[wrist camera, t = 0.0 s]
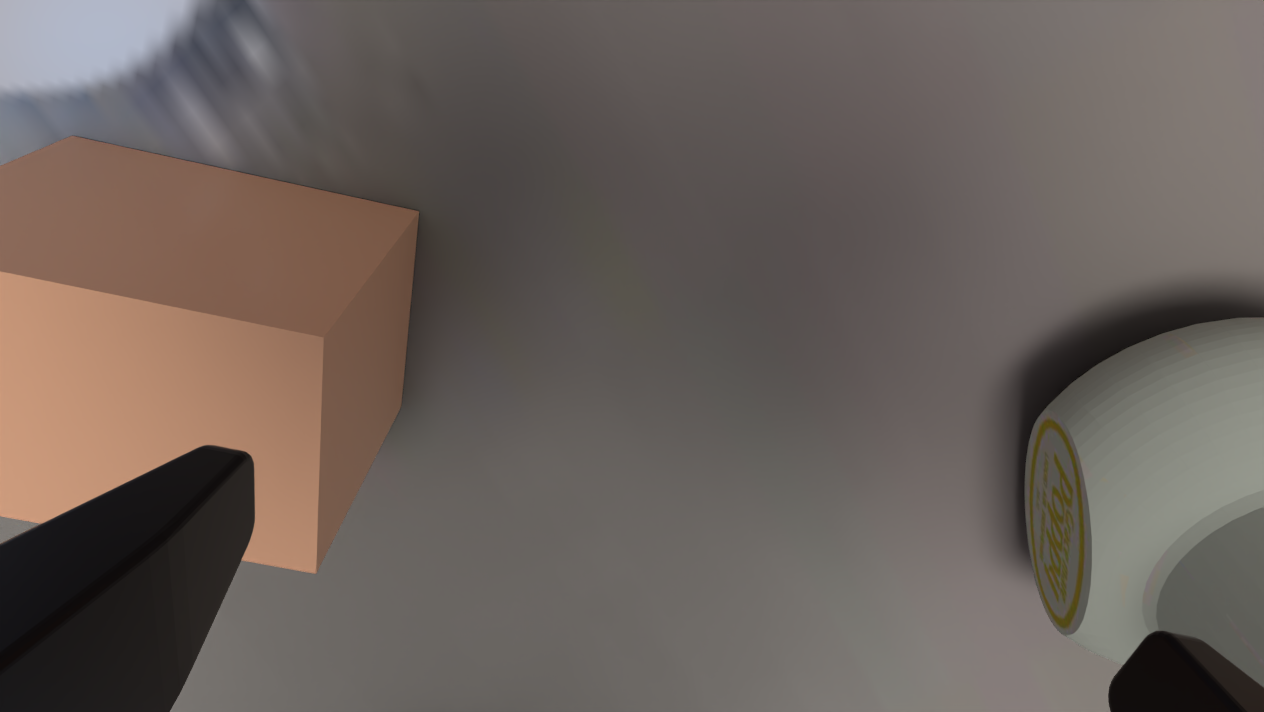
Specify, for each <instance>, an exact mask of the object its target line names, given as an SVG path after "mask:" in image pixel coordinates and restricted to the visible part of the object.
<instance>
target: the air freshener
mask: <svg viewBox="0 0 1264 712" xmlns="http://www.w3.org/2000/svg"><path fill="white" fill-rule="evenodd" d="M1025 517H1026V527H1027V537H1028V545H1029V551H1030V557H1031V562H1032V567H1033V572H1034V577H1035V581H1036V585H1037V588H1038V591H1039V595H1040V598H1041V600H1042V603H1043V606H1044V608H1045V610H1046V613H1047V615H1048V617H1049V618H1050V620H1051V622H1052V623H1053V625H1054V626H1055V628H1056V629H1057V630H1058V631H1059V632H1060V633H1061V634H1063V635H1064V636H1066V637H1067V638H1069V639H1070V640H1072V641H1073V642H1075V643H1077V644H1078V645H1080V646H1081V647H1083V648H1084V649H1086V650H1088V651H1090V652H1092V653H1094V654H1097V655H1099V656H1101V657H1104V658H1106V659H1108V660H1111V661H1113V662H1115V663H1118V664H1120V665H1124V664H1125V662H1126V661H1127V660H1128V658H1129V657H1130V656H1131V655H1132V653H1133V652H1134V651H1135V650H1136V648H1137V647H1138V646H1139V644H1140V643H1141V642H1142V641H1143V639H1144V638H1145V637H1146V636H1147V635H1149V634H1150V633H1152V632H1155V631H1161V630H1162V631H1169V632H1174V633H1179V634H1184V635H1190V636H1193V637H1196V638H1199V639H1201V640H1203V641H1204V642H1206V643H1207V644H1208V645H1210V646H1211V647H1212V648H1214V649H1215V650H1216V651H1217V652H1219V653H1220V654H1221V655H1223V656H1224V657H1225V658H1227V659H1228V660H1229V661H1230V662H1232V663H1233V664H1234V665H1236V666H1237V667H1238V668H1239V669H1241V670H1242V671H1243V672H1245V673H1246V674H1247V675H1248V676H1250V677H1251V678H1252V679H1254V680H1255V681H1256V682H1258V683H1259V684H1260V685H1261V686H1263V687H1264V317H1261V318H1233V319H1226V320H1220V321H1213V322H1206V323H1199V324H1195V325H1191V326H1187V327H1184V328H1180V329H1176V330H1173V331H1169V332H1166V333H1162V334H1160V335H1157V336H1155V337H1152V338H1150V339H1147V340H1145V341H1142V342H1140V343H1137V344H1135V345H1133V346H1130V347H1128V348H1126V349H1124V350H1122V351H1120V352H1119V353H1117V354H1115V355H1113V356H1111V357H1110V358H1108V359H1106V360H1104V361H1102V362H1101V363H1099V364H1097V365H1096V366H1094V367H1093V368H1092V369H1090V370H1089V371H1087V372H1086V373H1085V374H1083V375H1082V376H1081V377H1079V378H1078V379H1076V380H1075V381H1074V382H1072V383H1071V384H1070V385H1069V386H1068V387H1067V388H1066V389H1065V390H1064V391H1063V392H1062V393H1060V394H1059V395H1058V396H1057V397H1056V398H1055V399H1054V400H1053V401H1052V402H1051V403H1050V404H1049V405H1048V406H1047V407H1046V408H1045V410H1044V411H1043V412H1042V413H1041V415H1040V416H1039V417H1038V419H1037V420H1036V422H1035V424H1034V426H1033V429H1032V433H1031V436H1030V440H1029V444H1028V451H1027V457H1026V469H1025Z"/></svg>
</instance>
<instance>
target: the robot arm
mask: <svg viewBox="0 0 1264 712" xmlns="http://www.w3.org/2000/svg"><path fill="white" fill-rule="evenodd" d="M254 523H255V478H254V462H253V459H252V456H251V455H250V454H248V453H247V452H245V451H241V450H236V449H231V448H226V447H221V446H216V445H204V446H201V447H198V448H196V449H194V450H192V451H190V452H188V453H185V454H183V455H181V456H179V457H177V458H175V459H173V460H171V461H169V462H167V463H165V464H163V465H161V466H159V467H157V468H155V469H153V470H151V471H148V472H146V473H144V474H142V475H140V476H138V477H136V478H134V479H132V480H130V481H128V482H126V483H124V484H122V485H120V486H118V487H116V488H114V489H112V490H109V491H107V492H105V493H103V494H101V495H99V496H97V497H95V498H93V499H91V500H89V501H87V502H85V503H83V504H81V505H79V506H77V507H75V508H72V509H70V510H68V511H66V512H64V513H62V514H60V515H58V516H56V517H54V518H52V519H50V520H48V521H46V522H44V523H42V524H40V525H38V526H36V527H33V528H31V529H29V530H27V531H25V532H23V533H21V534H19V535H17V536H15V537H13V538H11V539H9V540H7V541H5V542H3V543H1V544H0V712H170V710H171V708H172V706H173V705H174V703H175V701H176V699H177V697H178V696H179V694H180V692H181V690H182V688H183V686H184V684H185V682H186V680H187V678H188V676H189V673H190V671H191V669H192V667H193V665H194V663H195V661H196V659H197V656H198V654H199V652H200V650H201V648H202V645H203V643H204V641H205V639H206V637H207V634H208V632H209V630H210V628H211V626H212V623H213V621H214V619H215V617H216V615H217V612H218V610H219V608H220V606H221V604H222V602H223V599H224V597H225V595H226V593H227V591H228V588H229V586H230V584H231V582H232V580H233V577H234V575H235V573H236V571H237V569H238V566H239V564H240V562H241V560H242V558H243V555H244V553H245V551H246V549H247V547H248V544H249V542H250V539H251V536H252V533H253V529H254ZM1108 698H1109V707H1110V711H1111V712H1264V687H1263V686H1261V685H1260V684H1259V683H1258V682H1256V681H1255V680H1254V679H1252V678H1251V677H1250V676H1248V675H1247V674H1246V673H1245V672H1243V671H1242V670H1241V669H1239V668H1238V667H1237V666H1236V665H1234V664H1233V663H1232V662H1230V661H1229V660H1228V659H1227V658H1225V657H1224V656H1223V655H1221V654H1220V653H1219V652H1217V651H1216V650H1215V649H1214V648H1212V647H1211V646H1210V645H1208V644H1207V643H1206V642H1204V641H1203V640H1201V639H1199V638H1196V637H1193V636H1190V635H1184V634H1179V633H1174V632H1169V631H1162V630H1161V631H1155V632H1152V633H1150V634H1149V635H1147V636H1146V637H1145V638H1144V639H1143V641H1142V642H1141V643H1140V644H1139V646H1138V647H1137V648H1136V650H1135V651H1134V652H1133V653H1132V655H1131V656H1130V657H1129V658H1128V660H1127V661H1126V662H1125V664H1124V665H1123V666H1122V667H1121V669H1120V670H1119V671H1118V672H1117V674H1116V675H1115V676H1114V678H1113V679H1112V681H1111V684H1110V687H1109V693H1108Z"/></svg>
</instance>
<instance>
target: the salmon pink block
mask: <svg viewBox="0 0 1264 712" xmlns="http://www.w3.org/2000/svg"><path fill="white" fill-rule="evenodd" d="M418 219H419V211H415V210H411V209H406V208H402V207H397V206H392V205H388V204H383V203H379V202H374V201H369V200H365V199H360V198H356V197H351V196H347V195H342V194H337V193H333V192H328V191H324V190H319V189H314V188H310V187H305V186H301V185H296V184H291V183H287V182H282V181H278V180H273V179H269V178H264V177H259V176H255V175H250V174H246V173H241V172H236V171H232V170H227V169H223V168H218V167H214V166H209V165H204V164H200V163H195V162H191V161H186V160H181V159H177V158H172V157H168V156H163V155H159V154H154V153H149V152H145V151H140V150H136V149H131V148H126V147H122V146H117V145H113V144H108V143H104V142H99V141H94V140H90V139H85V138H81V137H76V136H70V137H68V138H65V139H63V140H60V141H58V142H56V143H53V144H51V145H49V146H46V147H44V148H42V149H39V150H37V151H34V152H32V153H30V154H27V155H25V156H23V157H20V158H18V159H16V160H13V161H11V162H9V163H6V164H4V165H1V166H0V516H2V517H8V518H13V519H19V520H24V521H30V522H35V523H41V524H42V523H44V522H46V521H48V520H50V519H52V518H54V517H56V516H58V515H60V514H62V513H64V512H66V511H68V510H70V509H72V508H75V507H77V506H79V505H81V504H83V503H85V502H87V501H89V500H91V499H93V498H95V497H97V496H99V495H101V494H103V493H105V492H107V491H109V490H112V489H114V488H116V487H118V486H120V485H122V484H124V483H126V482H128V481H130V480H132V479H134V478H136V477H138V476H140V475H142V474H144V473H146V472H148V471H151V470H153V469H155V468H157V467H159V466H161V465H163V464H165V463H167V462H169V461H171V460H173V459H175V458H177V457H179V456H181V455H183V454H185V453H188V452H190V451H192V450H194V449H196V448H198V447H201V446H204V445H216V446H221V447H226V448H231V449H236V450H241V451H245V452H247V453H248V454H250V455H251V456H252V459H253V462H254V478H255V523H254V529H253V533H252V536H251V539H250V542H249V544H248V547H247V549H246V551H245V553H244V555H243V558H242V560H243V561H248V562H254V563H259V564H265V565H270V566H276V567H281V568H287V569H292V570H298V571H303V572H308V573H314V574H316V573H317V571H318V569H319V567H320V565H321V563H322V561H323V559H324V557H325V555H326V553H327V551H328V549H329V547H330V545H331V544H332V542H333V540H334V538H335V536H336V534H337V532H338V530H339V528H340V526H341V524H342V522H343V520H344V518H345V516H346V514H347V512H348V510H349V508H350V506H351V504H352V502H353V500H354V498H355V496H356V494H357V492H358V491H359V489H360V487H361V485H362V483H363V481H364V479H365V477H366V475H367V473H368V471H369V469H370V467H371V465H372V463H373V461H374V459H375V457H376V455H377V453H378V451H379V449H380V447H381V445H382V443H383V441H384V439H385V437H386V436H387V434H388V432H389V430H390V428H391V426H392V424H393V422H394V420H395V418H396V416H397V414H398V412H399V410H400V408H401V405H402V394H403V383H404V372H405V361H406V350H407V339H408V328H409V317H410V307H411V296H412V285H413V274H414V263H415V252H416V241H417V230H418Z"/></svg>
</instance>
